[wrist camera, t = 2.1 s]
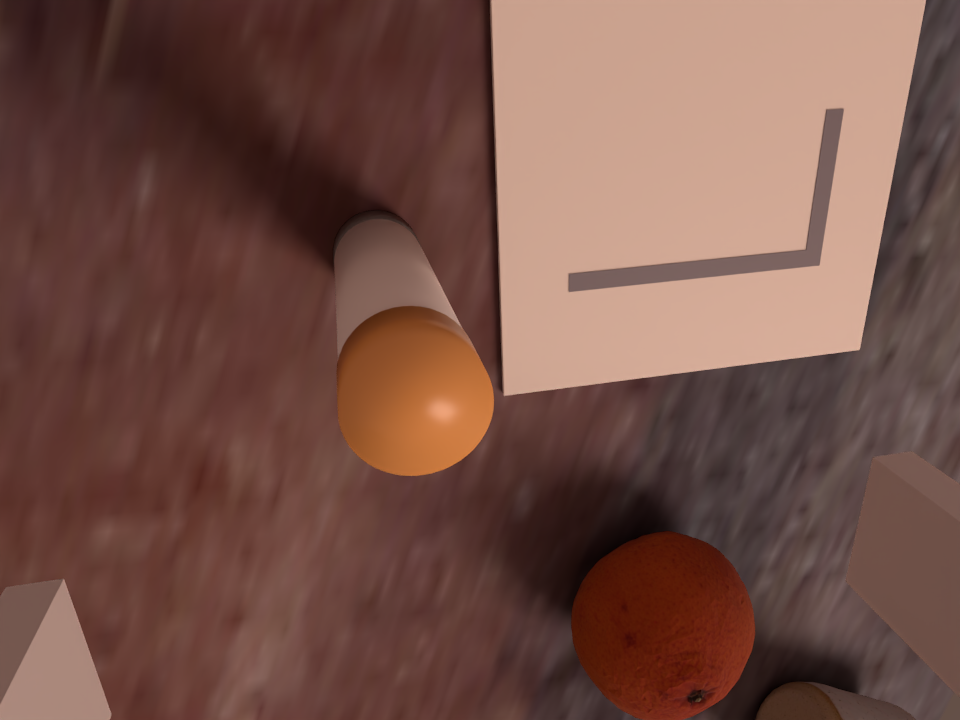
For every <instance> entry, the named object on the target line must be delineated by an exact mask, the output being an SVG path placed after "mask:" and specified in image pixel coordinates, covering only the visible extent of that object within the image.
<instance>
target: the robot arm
mask: <svg viewBox="0 0 960 720" xmlns="http://www.w3.org/2000/svg"><path fill="white" fill-rule="evenodd" d="M846 582H847V583H848V584H849V585H850V586H851V587H852V588H853V589H854V591H855V592H856V593H857V594H858V595H859V596H860V597H861V598H862V599H863V600H864V601H865V602H866V603H867V604H868V605H869V606H870V607H871V608H872V609H873V610H874V611H875V612H876V613H877V614H878V615H879V616H880V617H881V618H882V619H883V620H884V621H885V622H886V623H887V624H888V625H889V626H890V627H891V628H892V629H893V630H894V631H895V632H896V633H897V634H898V635H899V636H900V637H901V638H902V639H903V640H904V642H905V643H906V644H907V645H908V646H909V647H910V648H911V649H912V650H913V651H914V652H915V653H916V654H917V655H918V656H919V657H920V658H921V659H922V660H923V661H924V662H925V663H926V664H927V665H928V666H929V667H930V668H931V669H932V670H933V671H934V672H935V673H936V674H937V675H938V676H939V677H940V678H941V679H942V680H943V681H944V682H945V683H946V684H947V685H948V686H949V687H950V688H951V689H952V690H953V691H954V693H955V694H956V695H958V697H959V698H960V484H959V483H957V482H956V481H954V480H953V479H951V478H950V477H948V476H947V475H946V474H944V473H943V472H941V471H940V470H938V469H937V468H935V467H934V466H932V465H931V464H929V463H928V462H926V461H925V460H923V459H922V458H921V457H919V456H918V455H916V454H915V453H913V452H912V451H911V452H904V453H898V454H891V455H884V456H878V457H873V459H872V464H871V468H870V473H869V477H868V482H867V486H866V491H865V495H864V500H863V504H862V509H861V513H860V518H859V522H858V527H857V531H856V536H855V540H854V545H853V549H852V554H851V558H850V563H849V568H848V572H847V577H846ZM110 717H111V712H110V709H109V706H108V703H107V700H106V697H105V695H104V692H103V689H102V686H101V683H100V680H99V678H98V675H97V672H96V669H95V666H94V663H93V660H92V658H91V655H90V652H89V649H88V646H87V643H86V641H85V638H84V635H83V632H82V629H81V626H80V623H79V621H78V618H77V615H76V612H75V609H74V606H73V603H72V601H71V598H70V595H69V592H68V589H67V586H66V584H65V581H64V579H59V580H52V581H45V582H39V583H32V584H25V585H19V586H12V587H6V588H5V590H4V591H3V593H2V595H1V596H0V720H110Z"/></svg>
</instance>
